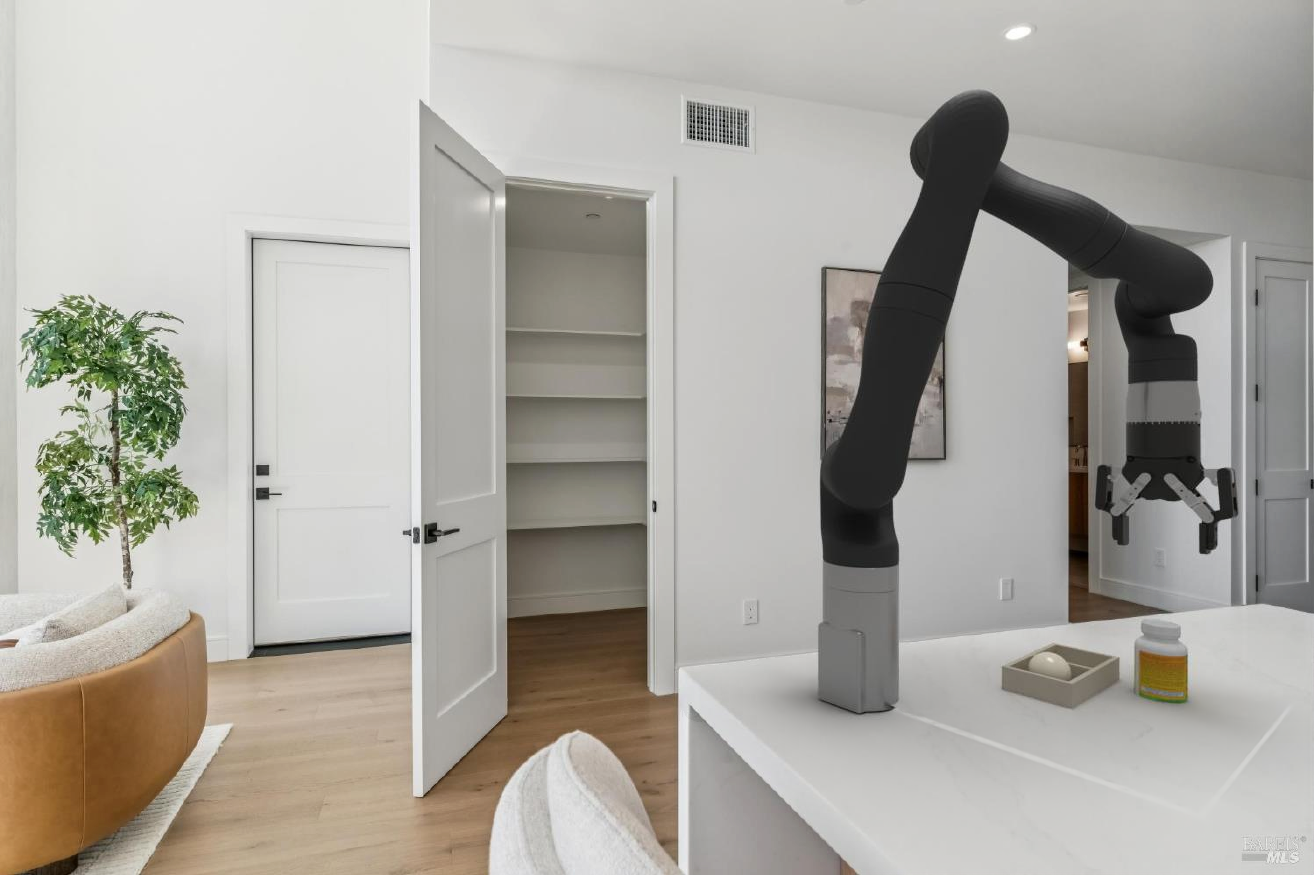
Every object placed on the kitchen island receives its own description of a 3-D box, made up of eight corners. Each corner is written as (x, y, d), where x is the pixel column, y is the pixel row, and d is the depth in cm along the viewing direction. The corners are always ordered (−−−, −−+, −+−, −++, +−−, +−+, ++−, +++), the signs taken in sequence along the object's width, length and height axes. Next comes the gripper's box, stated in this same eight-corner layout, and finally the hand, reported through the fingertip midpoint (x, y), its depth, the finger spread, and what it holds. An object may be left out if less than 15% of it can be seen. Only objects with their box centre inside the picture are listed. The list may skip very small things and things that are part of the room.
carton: (1072, 713, 82) (1072, 684, 81) (1001, 693, 88) (1001, 666, 88) (1119, 683, 91) (1119, 657, 91) (1053, 667, 98) (1053, 642, 98)
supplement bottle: (1197, 711, 82) (1197, 630, 82) (1147, 707, 83) (1147, 627, 83) (1173, 694, 88) (1173, 618, 88) (1126, 691, 89) (1126, 616, 89)
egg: (1062, 700, 84) (1062, 661, 84) (1021, 689, 88) (1021, 651, 88) (1077, 691, 87) (1077, 653, 87) (1037, 681, 91) (1037, 644, 91)
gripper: (1087, 420, 89) (1087, 545, 89) (1227, 417, 78) (1227, 560, 78) (1108, 421, 93) (1108, 539, 94) (1243, 418, 82) (1243, 553, 82)
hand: (1162, 549), depth 86 cm, fingers open, 8 cm apart
